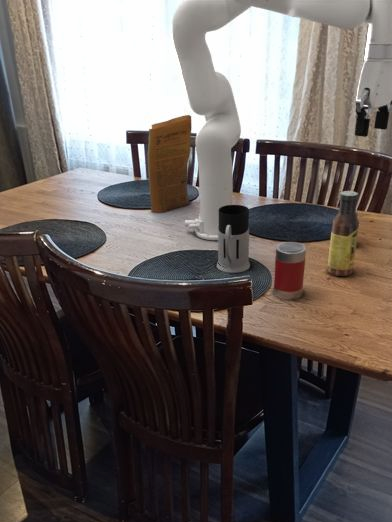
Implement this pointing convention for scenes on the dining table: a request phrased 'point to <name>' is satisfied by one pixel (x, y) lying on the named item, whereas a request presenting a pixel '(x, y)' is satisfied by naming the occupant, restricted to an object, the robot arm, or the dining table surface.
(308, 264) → the dining table surface
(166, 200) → the pancake mix bag
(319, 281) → the dining table surface
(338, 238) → the sauce bottle
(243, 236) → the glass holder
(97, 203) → the dining table surface
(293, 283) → the can
